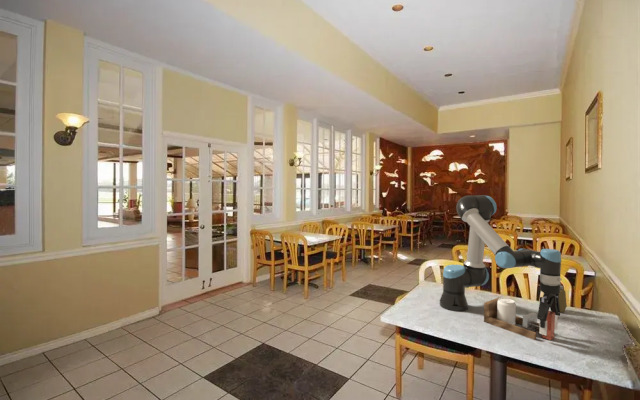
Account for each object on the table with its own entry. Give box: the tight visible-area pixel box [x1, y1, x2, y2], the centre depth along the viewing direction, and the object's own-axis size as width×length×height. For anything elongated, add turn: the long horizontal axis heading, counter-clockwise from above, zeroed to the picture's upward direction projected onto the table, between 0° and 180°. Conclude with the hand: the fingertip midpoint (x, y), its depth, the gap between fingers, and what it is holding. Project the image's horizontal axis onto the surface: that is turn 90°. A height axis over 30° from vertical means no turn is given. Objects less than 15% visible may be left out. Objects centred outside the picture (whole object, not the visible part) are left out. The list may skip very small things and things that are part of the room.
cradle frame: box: [483, 297, 540, 341], centre depth 158 cm, size 24×14×10 cm, turn 33°
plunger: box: [522, 310, 556, 341], centre depth 149 cm, size 10×10×12 cm
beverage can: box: [497, 297, 517, 326], centre depth 162 cm, size 8×8×12 cm
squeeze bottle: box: [559, 281, 568, 314], centre depth 179 cm, size 8×8×18 cm
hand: (548, 331), depth 146 cm, fingers open, 10 cm apart
